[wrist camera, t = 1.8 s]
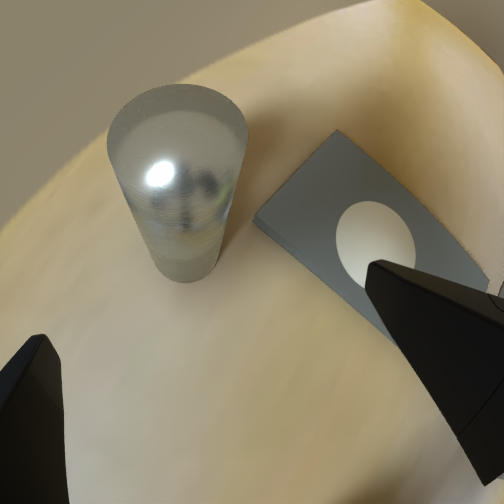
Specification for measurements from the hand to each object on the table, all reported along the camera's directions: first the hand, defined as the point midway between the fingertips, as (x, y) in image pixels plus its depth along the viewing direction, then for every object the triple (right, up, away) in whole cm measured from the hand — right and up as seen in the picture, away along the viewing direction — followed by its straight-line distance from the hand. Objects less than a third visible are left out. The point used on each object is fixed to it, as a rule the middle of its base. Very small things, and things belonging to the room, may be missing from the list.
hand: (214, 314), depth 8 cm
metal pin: (-3, +2, +12) cm, 13 cm away
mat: (+12, +1, +15) cm, 19 cm away
